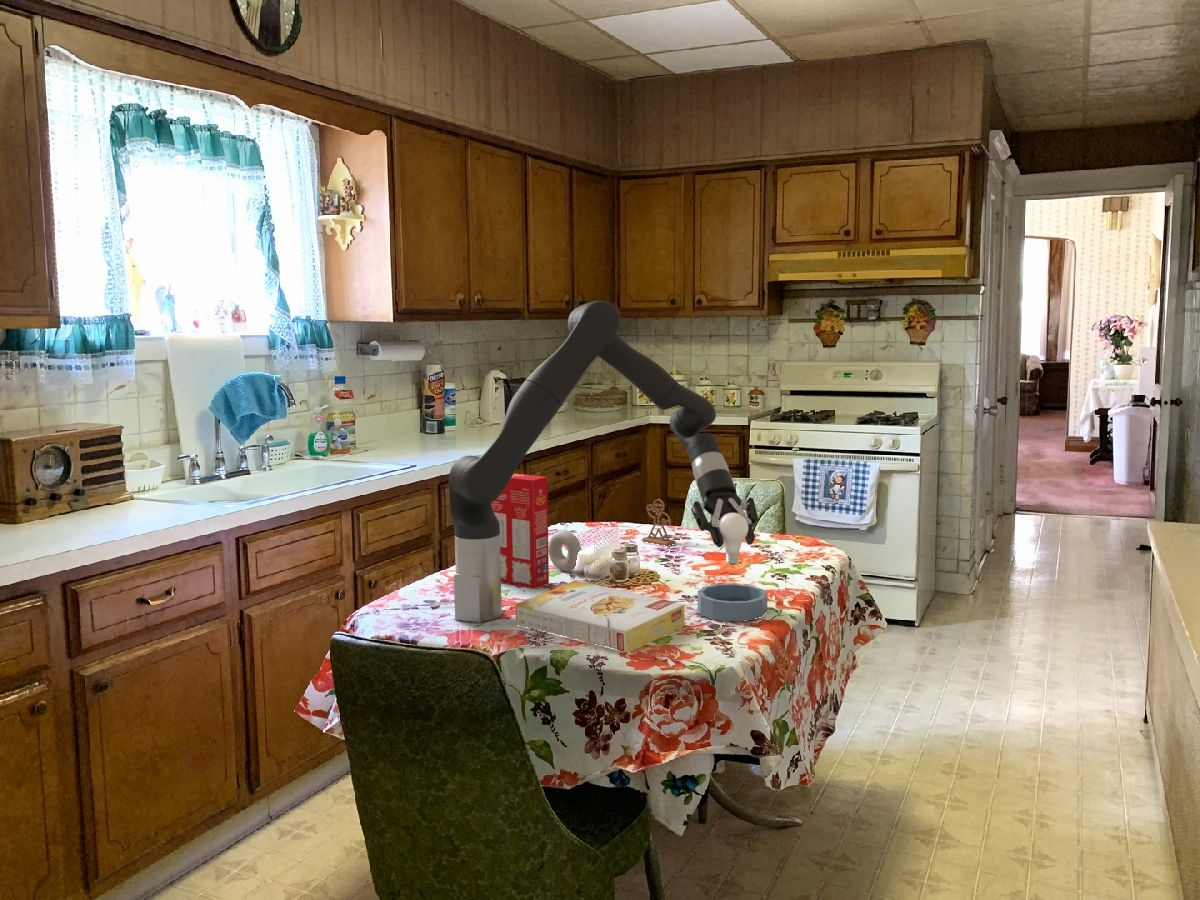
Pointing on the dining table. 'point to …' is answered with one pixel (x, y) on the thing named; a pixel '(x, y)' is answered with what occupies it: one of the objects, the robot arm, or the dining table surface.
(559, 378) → the robot arm
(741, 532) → the lightbulb
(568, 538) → the donut
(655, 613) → the cereal box
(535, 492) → the food packaging
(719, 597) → the bowl
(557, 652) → the dining table surface
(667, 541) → the gingerbread man figurine
